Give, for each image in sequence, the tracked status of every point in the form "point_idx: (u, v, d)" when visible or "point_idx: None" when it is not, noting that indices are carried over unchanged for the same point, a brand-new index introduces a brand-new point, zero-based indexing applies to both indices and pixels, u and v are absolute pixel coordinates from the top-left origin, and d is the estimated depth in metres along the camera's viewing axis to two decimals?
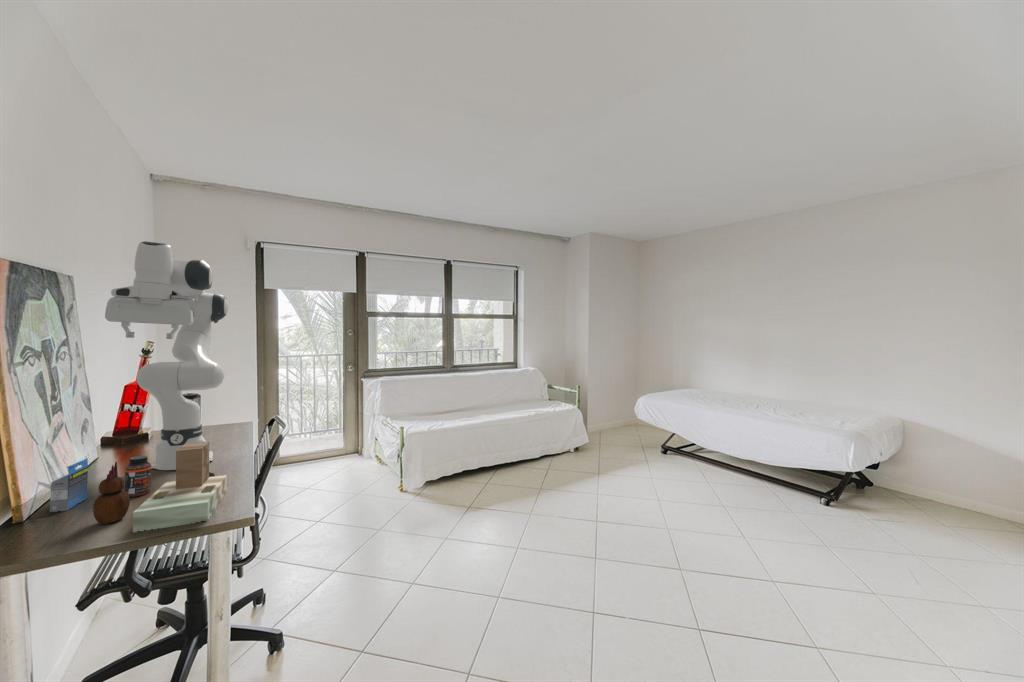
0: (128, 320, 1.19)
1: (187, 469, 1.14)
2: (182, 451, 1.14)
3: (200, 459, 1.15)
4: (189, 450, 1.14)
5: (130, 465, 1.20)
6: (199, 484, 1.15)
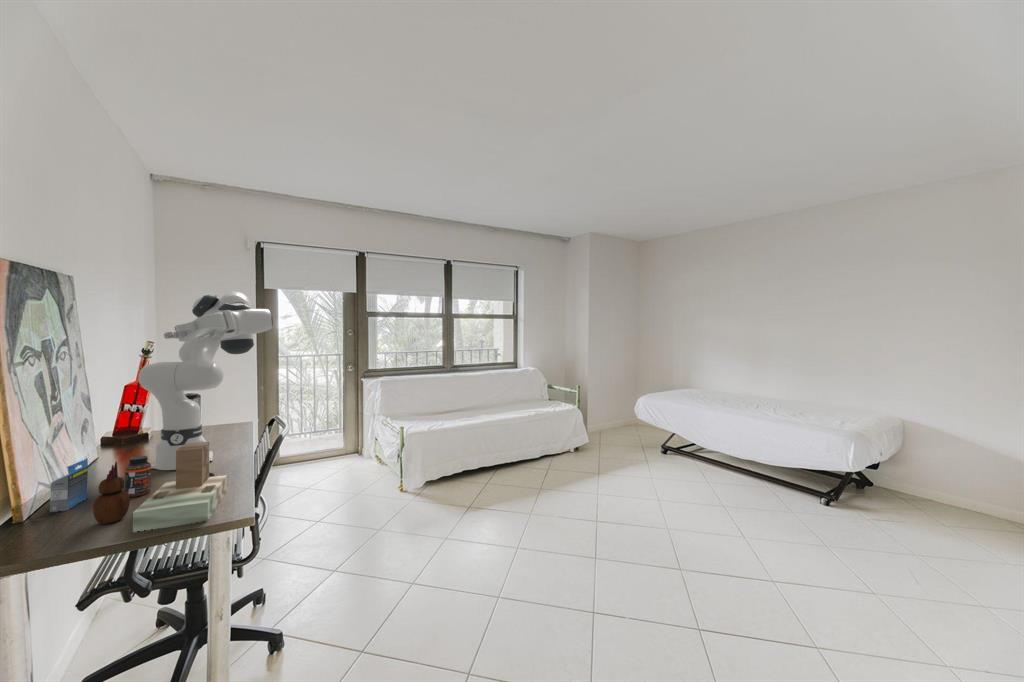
0: (198, 331, 1.22)
1: (187, 469, 1.14)
2: (182, 451, 1.14)
3: (200, 459, 1.15)
4: (189, 450, 1.14)
5: (130, 465, 1.20)
6: (199, 484, 1.15)
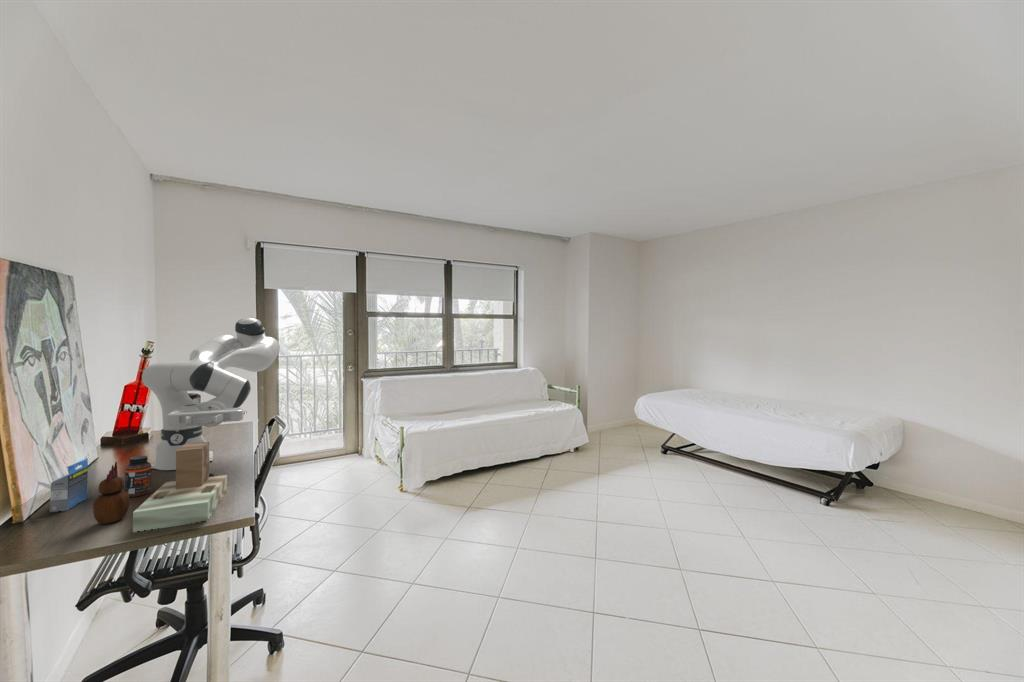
0: (187, 413, 1.28)
1: (187, 469, 1.14)
2: (182, 451, 1.14)
3: (200, 459, 1.15)
4: (189, 450, 1.14)
5: (130, 465, 1.20)
6: (199, 484, 1.15)
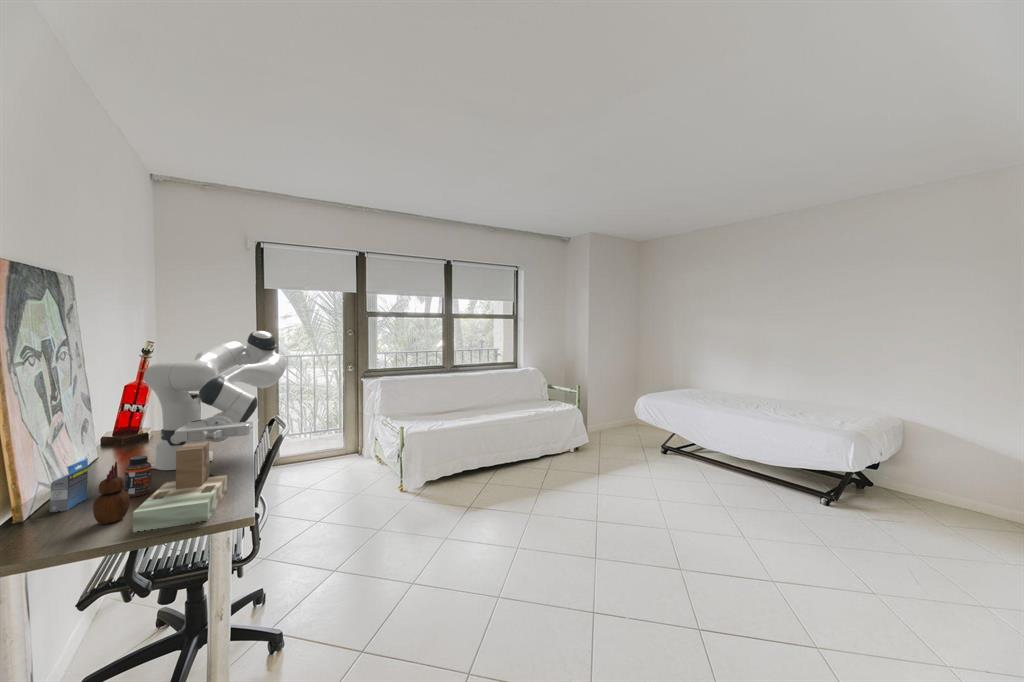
0: (194, 429, 1.29)
1: (187, 469, 1.14)
2: (182, 451, 1.14)
3: (200, 459, 1.15)
4: (189, 450, 1.14)
5: (130, 465, 1.20)
6: (199, 484, 1.15)
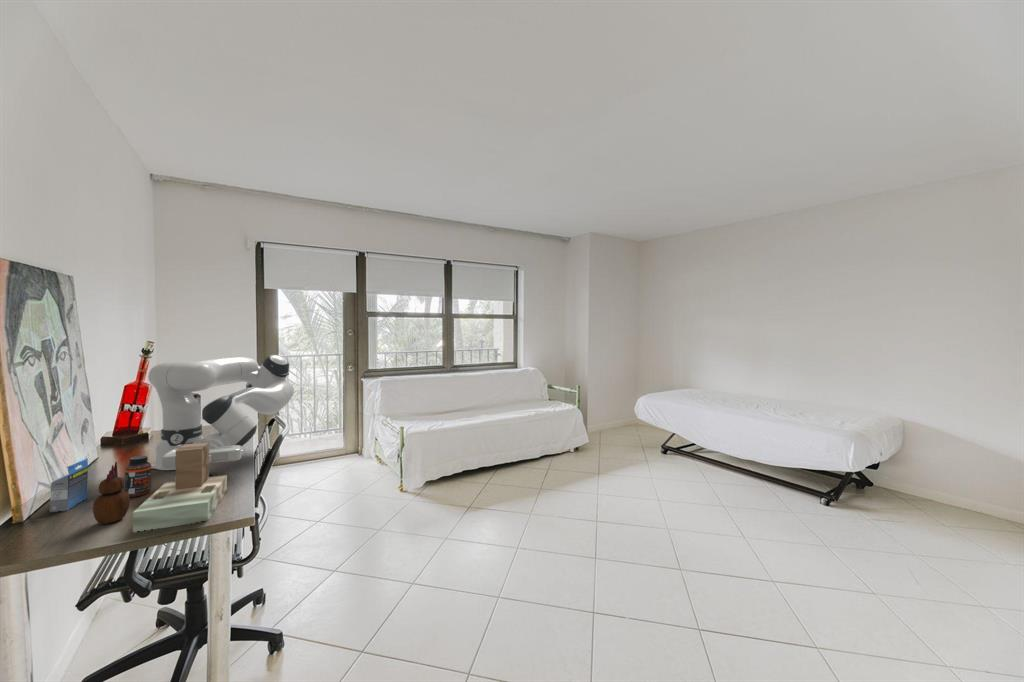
0: None
1: (186, 469, 1.14)
2: (182, 451, 1.13)
3: (200, 459, 1.15)
4: (189, 450, 1.14)
5: (130, 465, 1.20)
6: (199, 484, 1.15)
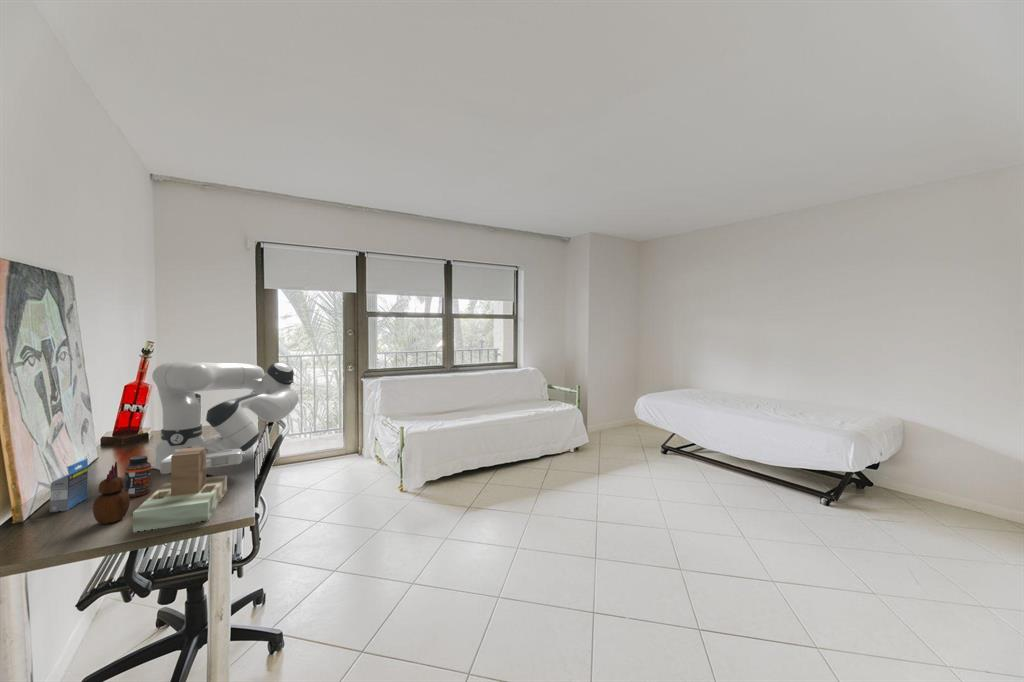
0: None
1: (182, 475, 1.09)
2: (178, 456, 1.09)
3: (197, 464, 1.10)
4: (185, 455, 1.09)
5: (130, 465, 1.20)
6: (195, 491, 1.10)
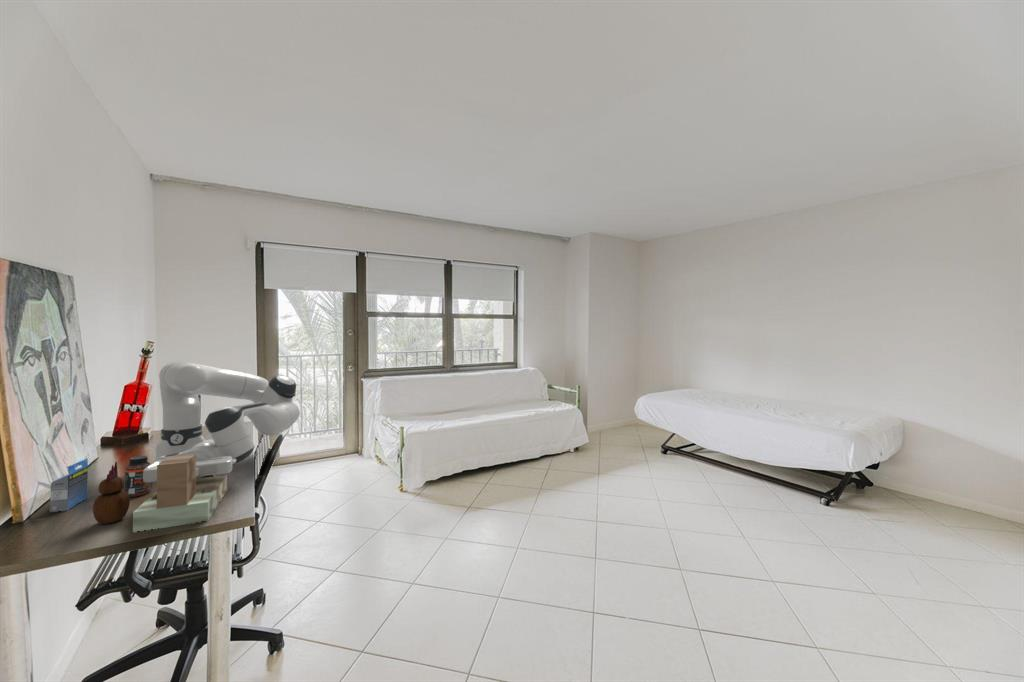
0: None
1: (169, 486, 1.01)
2: (164, 466, 1.01)
3: (185, 474, 1.02)
4: (172, 464, 1.01)
5: (130, 465, 1.20)
6: (183, 502, 1.02)
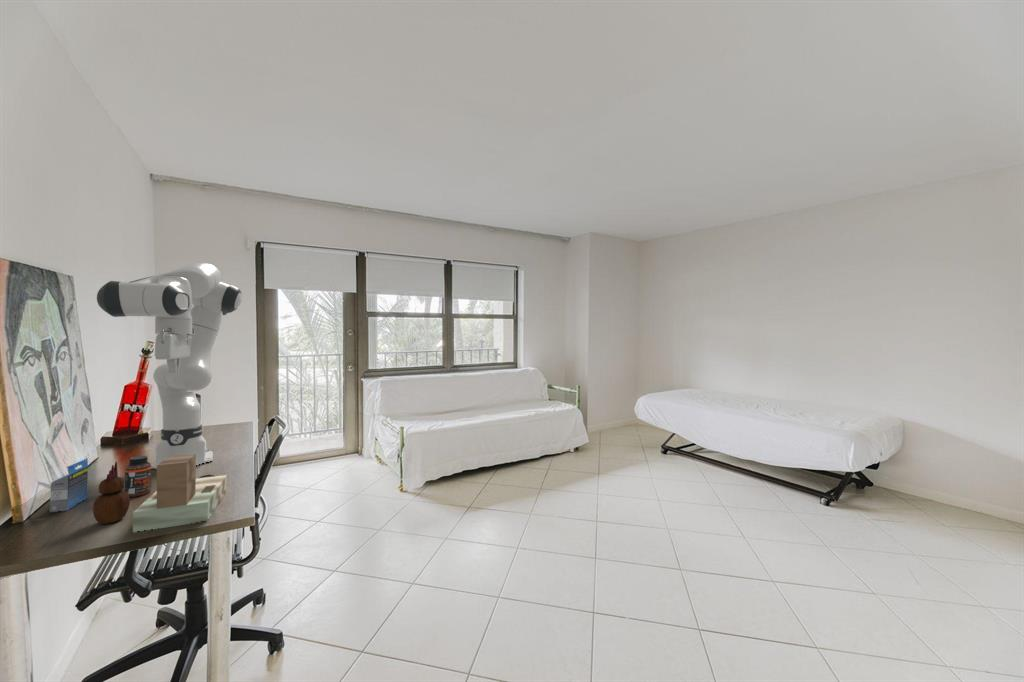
0: None
1: (169, 486, 1.01)
2: (164, 466, 1.01)
3: (184, 474, 1.02)
4: (172, 464, 1.01)
5: (130, 465, 1.20)
6: (183, 503, 1.02)
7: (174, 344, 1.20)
